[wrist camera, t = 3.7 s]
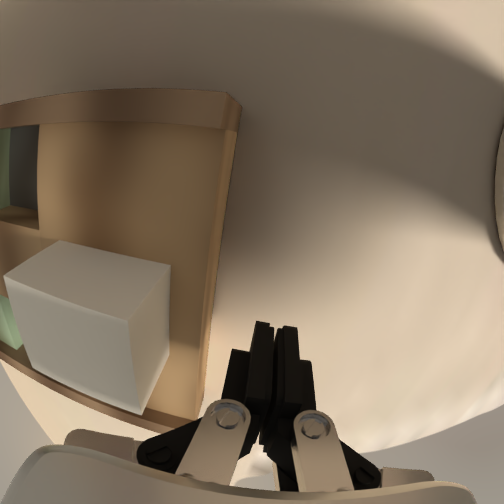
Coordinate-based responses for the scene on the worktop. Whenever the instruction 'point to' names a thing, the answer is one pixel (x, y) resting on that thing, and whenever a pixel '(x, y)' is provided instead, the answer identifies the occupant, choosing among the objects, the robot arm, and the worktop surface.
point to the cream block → (94, 320)
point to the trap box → (123, 212)
